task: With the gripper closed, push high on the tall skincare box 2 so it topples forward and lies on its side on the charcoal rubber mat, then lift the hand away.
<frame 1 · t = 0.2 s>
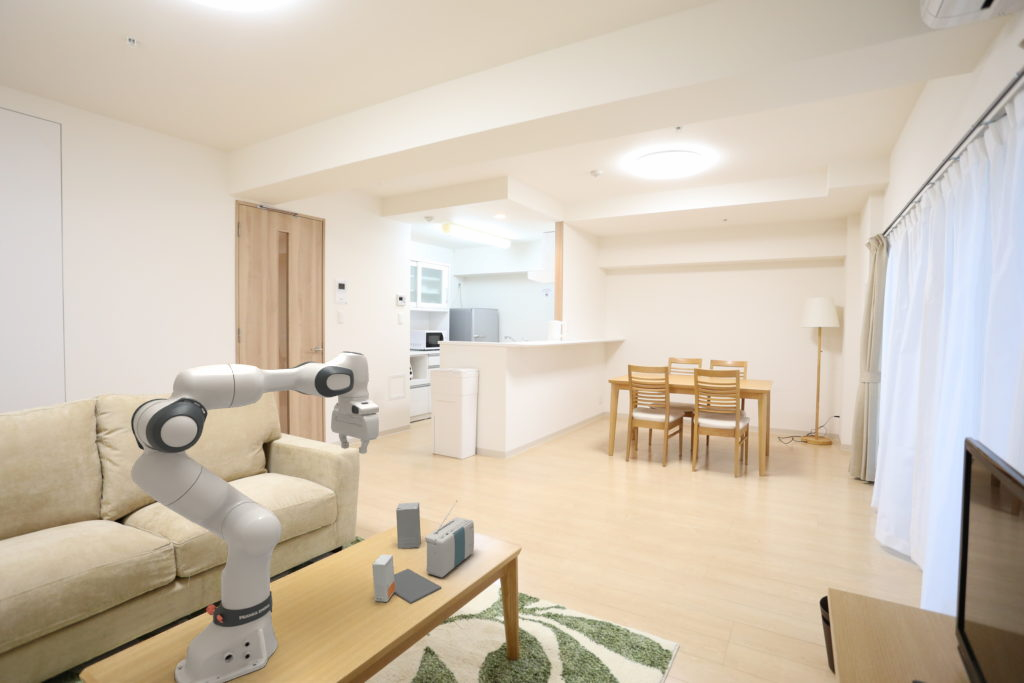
hand: (353, 450, 149), 47 cm above the table, fingers open, 8 cm apart
skincare box 2: (385, 596, 154), on the table, touching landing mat
stereo radio cassette player: (450, 565, 176), on the table
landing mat: (409, 585, 161), on the table
skincare box: (408, 545, 191), on the table
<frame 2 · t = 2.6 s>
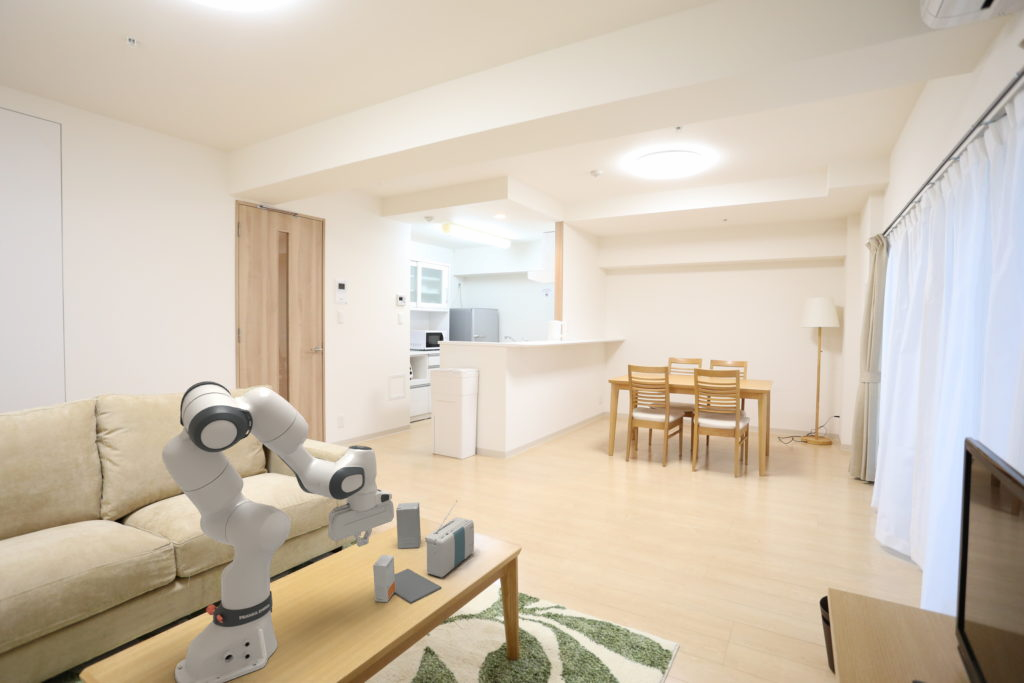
hand: (362, 544, 148), 19 cm above the table, fingers closed
nothing on the table moved.
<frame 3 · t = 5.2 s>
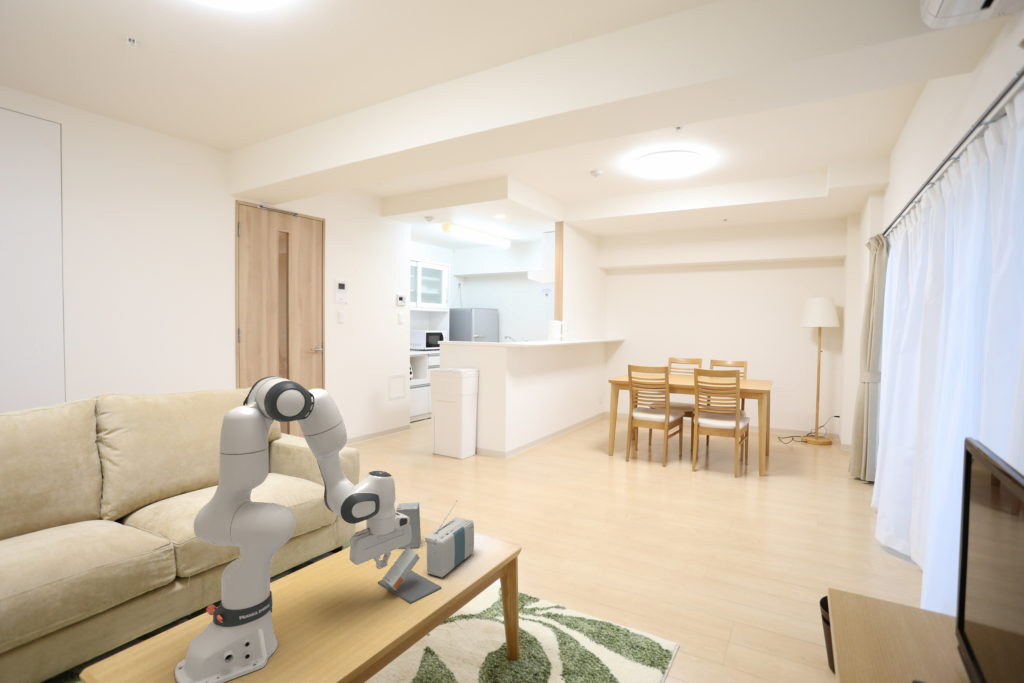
hand: (382, 567, 153), 10 cm above the table, fingers closed
skincare box 2: (388, 585, 155), point 3 cm above the table, touching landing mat
everything else where it was.
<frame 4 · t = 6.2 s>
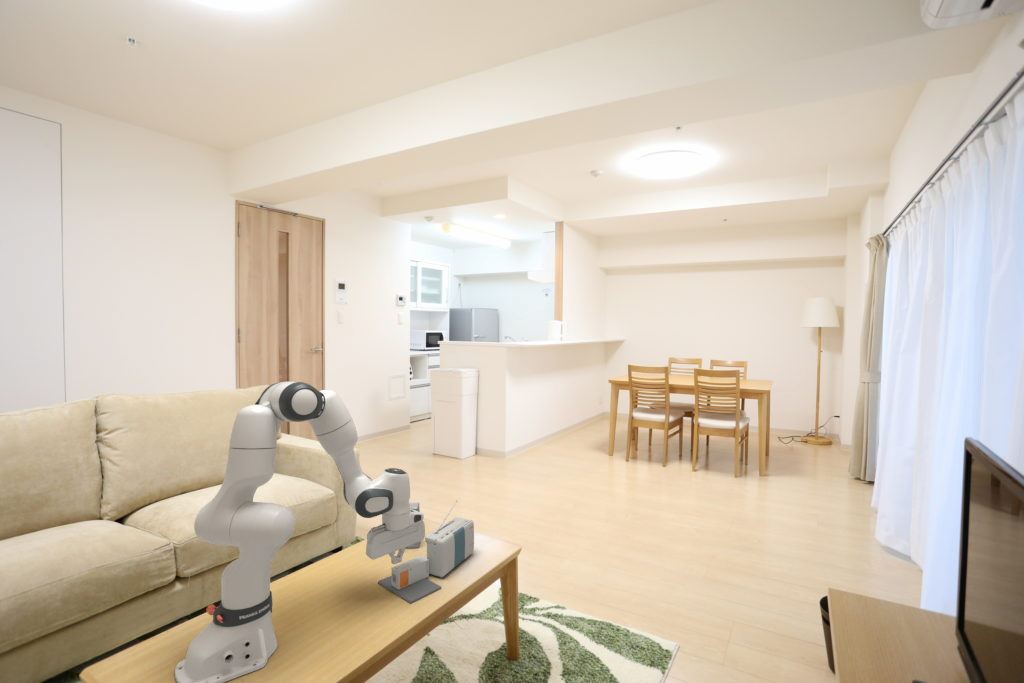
hand: (396, 562, 157), 9 cm above the table, fingers closed
skincare box 2: (394, 579, 158), point 3 cm above the table, touching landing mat
everything else where it was.
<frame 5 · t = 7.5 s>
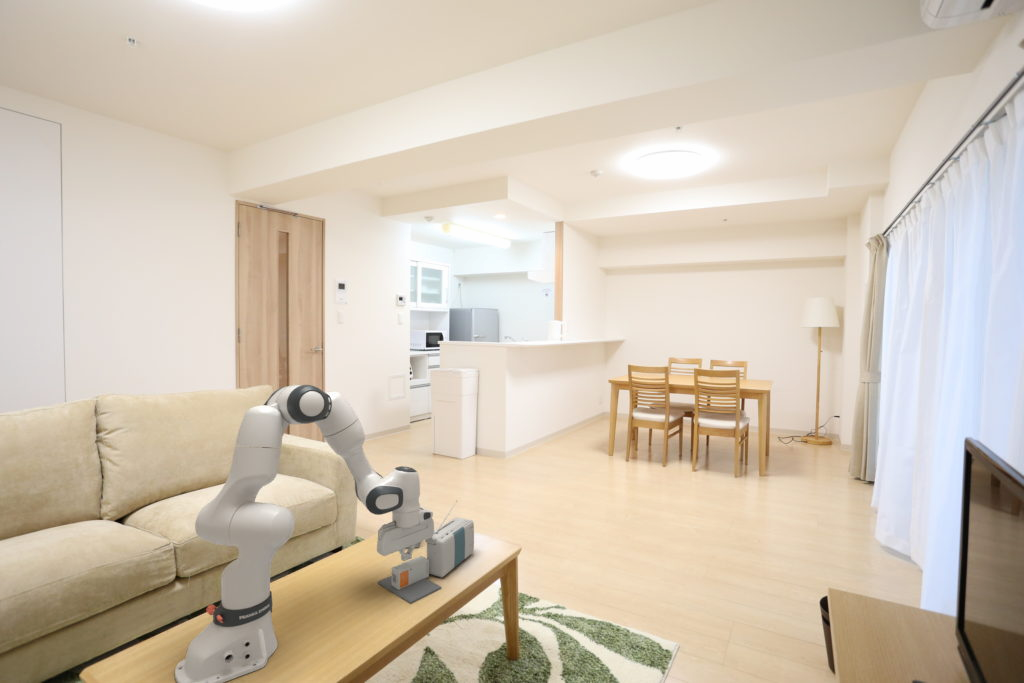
hand: (406, 559, 160), 9 cm above the table, fingers closed
nothing on the table moved.
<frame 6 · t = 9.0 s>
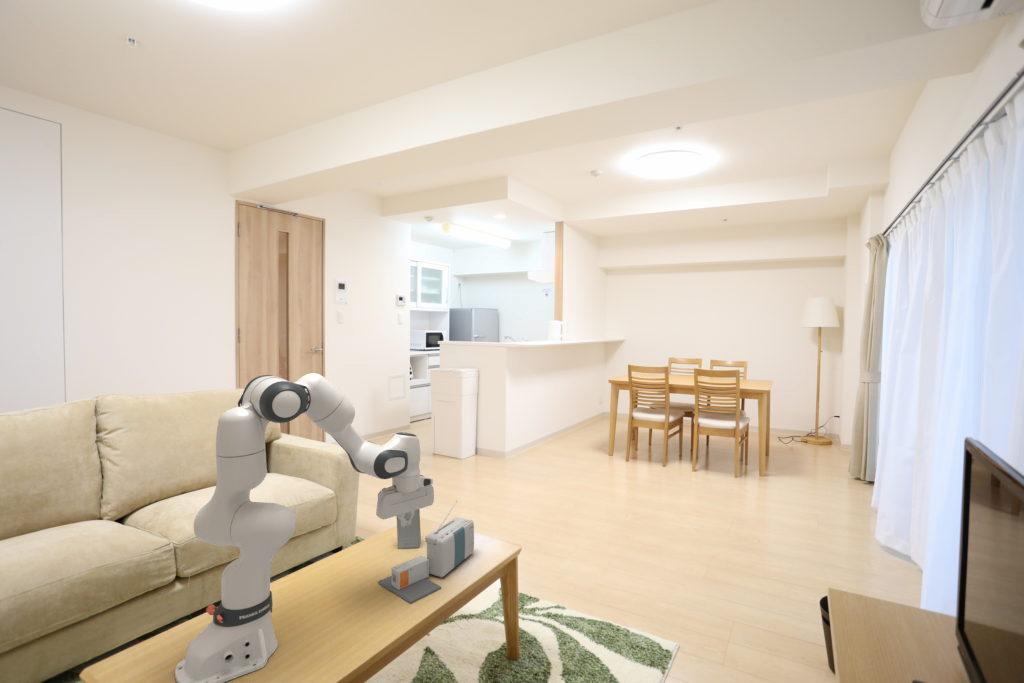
hand: (405, 525, 159), 20 cm above the table, fingers closed
nothing on the table moved.
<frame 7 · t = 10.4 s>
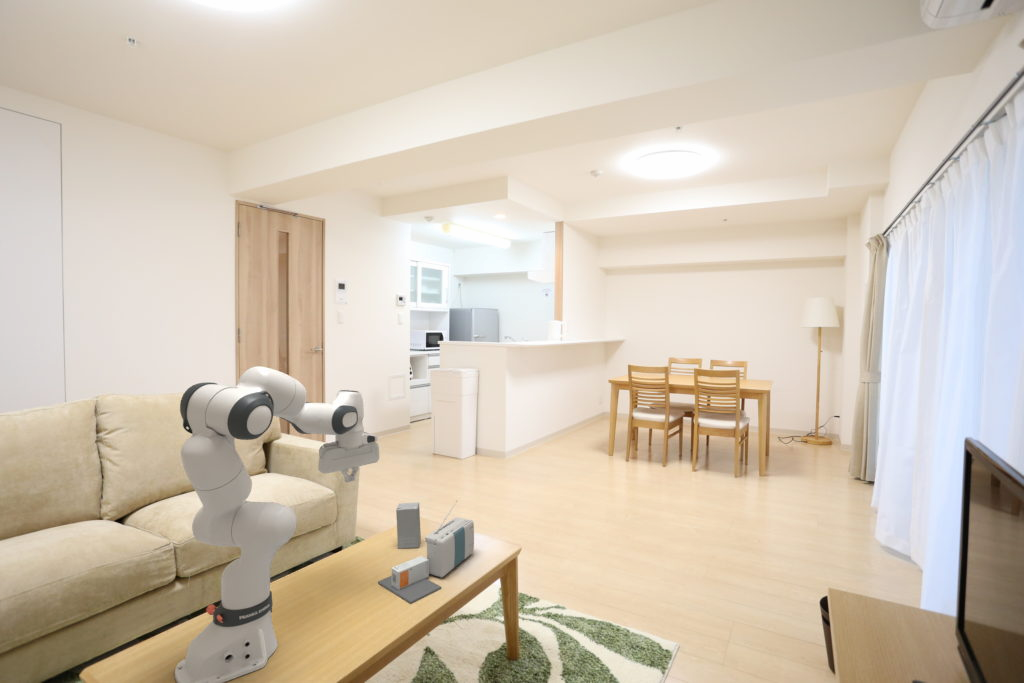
hand: (350, 481, 162), 34 cm above the table, fingers closed
nothing on the table moved.
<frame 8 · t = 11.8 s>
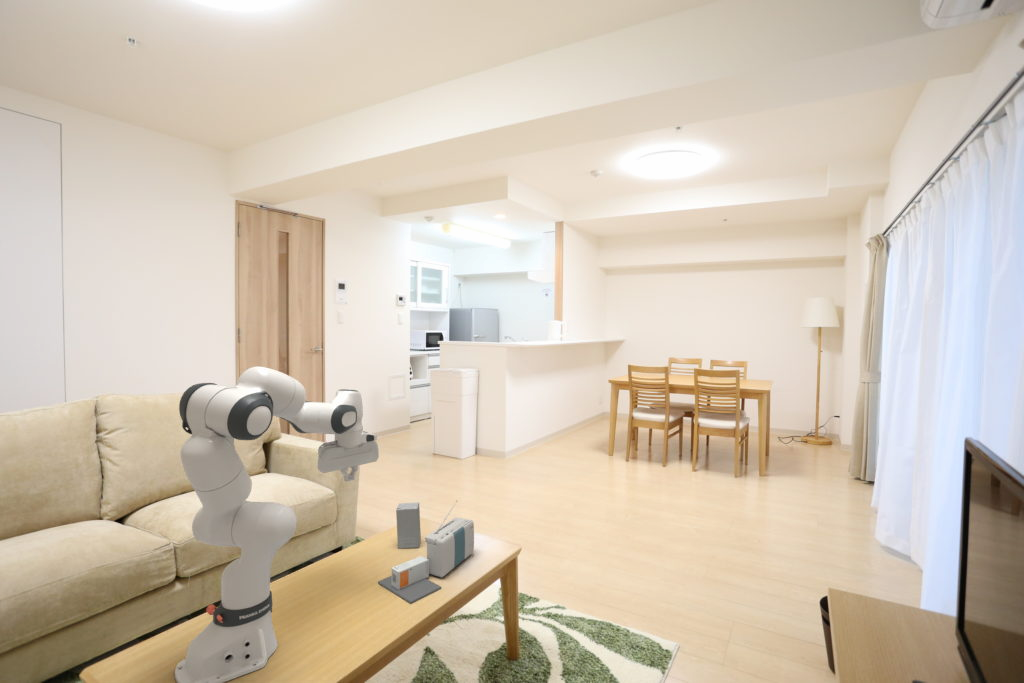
hand: (349, 480, 162), 34 cm above the table, fingers closed
nothing on the table moved.
at the end: skincare box 2 tilted 89°; skincare box 2 inside the target area (5.0 cm from its centre), point 3.5 cm above the table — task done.
